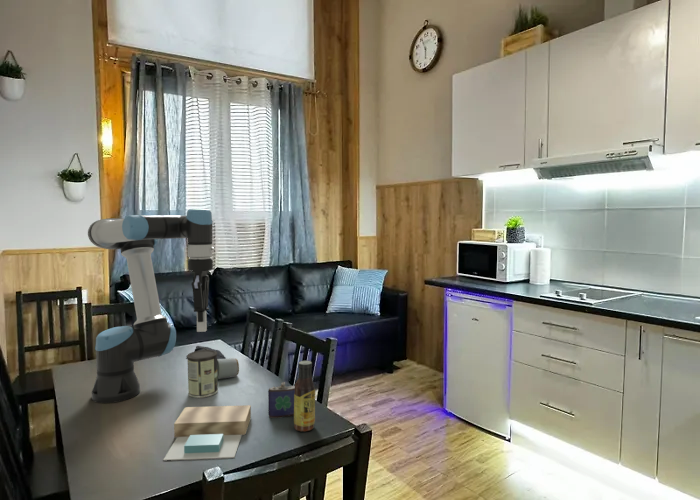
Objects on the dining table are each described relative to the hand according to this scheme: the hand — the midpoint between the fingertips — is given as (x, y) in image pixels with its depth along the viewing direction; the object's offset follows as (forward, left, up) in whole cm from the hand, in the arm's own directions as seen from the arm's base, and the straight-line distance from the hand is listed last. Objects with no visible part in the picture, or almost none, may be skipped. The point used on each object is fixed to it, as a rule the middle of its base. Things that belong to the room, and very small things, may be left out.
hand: (201, 331), depth 142 cm
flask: (+26, -5, -27) cm, 38 cm away
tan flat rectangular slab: (+6, -12, -26) cm, 29 cm away
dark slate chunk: (-11, +54, -27) cm, 61 cm away
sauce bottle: (+33, -14, -27) cm, 45 cm away
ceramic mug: (+1, +32, -27) cm, 42 cm away
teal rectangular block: (+6, -24, -24) cm, 34 cm away
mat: (+6, -24, -26) cm, 36 cm away
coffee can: (-4, +16, -27) cm, 31 cm away
